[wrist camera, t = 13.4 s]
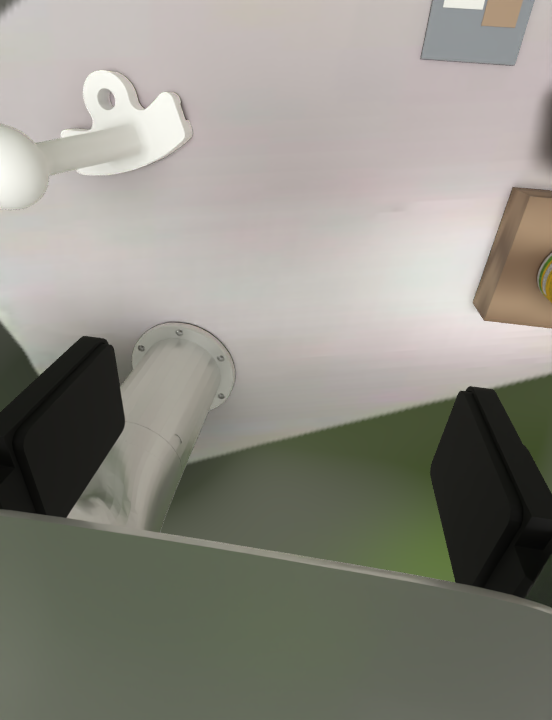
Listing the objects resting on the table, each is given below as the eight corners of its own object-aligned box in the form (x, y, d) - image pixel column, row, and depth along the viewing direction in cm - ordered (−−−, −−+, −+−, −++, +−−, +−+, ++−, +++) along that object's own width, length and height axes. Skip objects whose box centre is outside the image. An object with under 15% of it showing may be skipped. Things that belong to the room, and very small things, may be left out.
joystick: (95, 182, 41) (-75, 241, 24) (54, 94, 37) (-180, 93, 21) (198, 147, 38) (86, 188, 21) (164, 49, 35) (-3, 5, 18)
